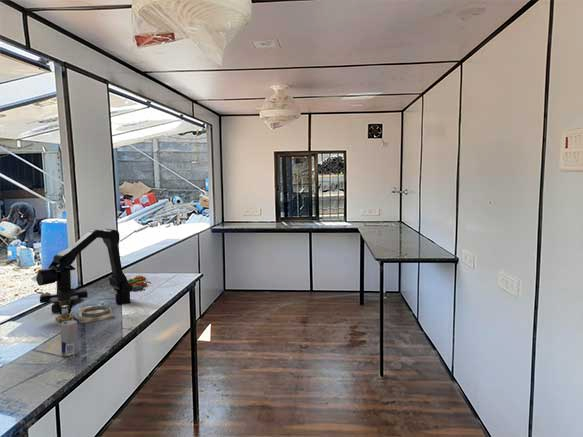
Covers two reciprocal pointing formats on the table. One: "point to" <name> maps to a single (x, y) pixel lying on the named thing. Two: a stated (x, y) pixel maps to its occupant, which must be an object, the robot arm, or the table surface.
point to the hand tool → (62, 304)
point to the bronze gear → (65, 314)
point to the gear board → (95, 313)
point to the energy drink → (69, 337)
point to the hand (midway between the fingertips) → (65, 314)
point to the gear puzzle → (138, 283)
